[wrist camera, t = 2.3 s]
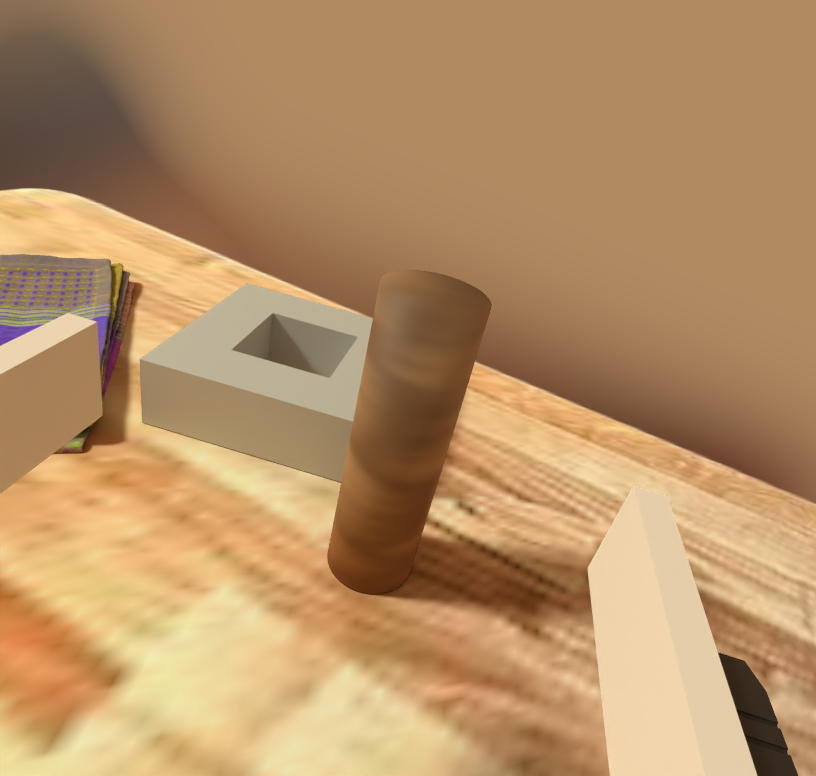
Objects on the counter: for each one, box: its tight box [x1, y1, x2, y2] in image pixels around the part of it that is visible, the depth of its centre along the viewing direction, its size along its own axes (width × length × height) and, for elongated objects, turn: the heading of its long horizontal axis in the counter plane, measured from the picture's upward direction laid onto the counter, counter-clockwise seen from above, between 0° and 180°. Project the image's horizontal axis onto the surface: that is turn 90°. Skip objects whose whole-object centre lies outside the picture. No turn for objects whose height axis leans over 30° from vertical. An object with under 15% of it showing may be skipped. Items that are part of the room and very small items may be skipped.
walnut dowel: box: [328, 270, 491, 594], centre depth 26 cm, size 4×4×15 cm
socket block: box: [140, 283, 373, 482], centre depth 39 cm, size 14×14×4 cm
